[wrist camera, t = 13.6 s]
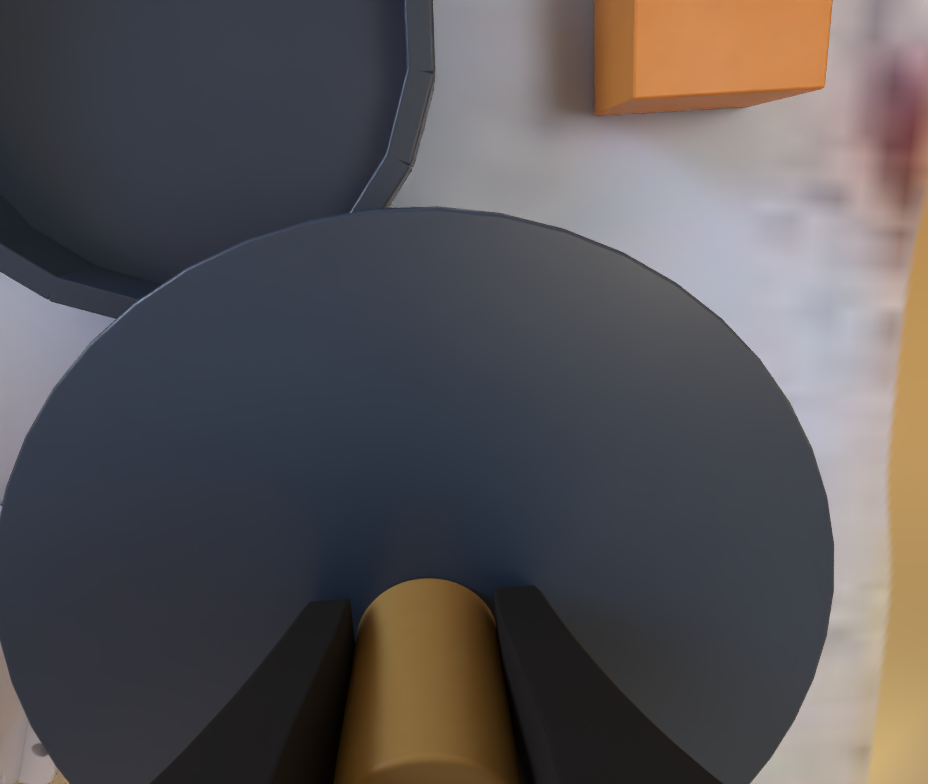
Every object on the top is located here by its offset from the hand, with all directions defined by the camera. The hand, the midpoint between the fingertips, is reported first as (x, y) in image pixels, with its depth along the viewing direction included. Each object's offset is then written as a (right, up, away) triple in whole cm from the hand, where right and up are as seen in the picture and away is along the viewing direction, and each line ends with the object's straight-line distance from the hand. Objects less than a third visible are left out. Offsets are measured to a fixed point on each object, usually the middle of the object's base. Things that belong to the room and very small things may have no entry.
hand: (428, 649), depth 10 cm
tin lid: (0, 0, +1) cm, 1 cm away
